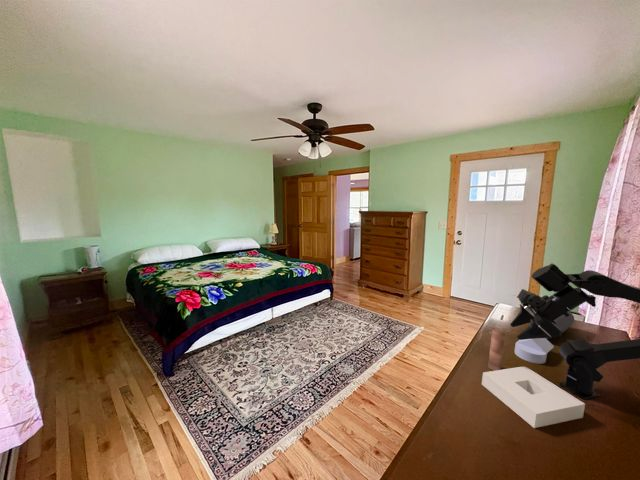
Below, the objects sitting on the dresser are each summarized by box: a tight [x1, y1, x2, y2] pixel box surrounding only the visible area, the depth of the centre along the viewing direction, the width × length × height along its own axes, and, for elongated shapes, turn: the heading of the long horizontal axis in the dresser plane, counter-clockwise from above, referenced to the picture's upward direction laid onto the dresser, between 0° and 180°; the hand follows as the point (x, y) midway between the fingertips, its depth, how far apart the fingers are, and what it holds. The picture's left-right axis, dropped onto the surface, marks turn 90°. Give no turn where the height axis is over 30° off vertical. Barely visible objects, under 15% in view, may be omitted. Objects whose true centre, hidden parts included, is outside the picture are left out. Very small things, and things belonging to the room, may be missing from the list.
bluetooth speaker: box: [528, 310, 575, 340], centre depth 111 cm, size 23×9×10 cm, turn 120°
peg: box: [487, 329, 506, 371], centre depth 87 cm, size 4×4×13 cm
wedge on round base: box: [514, 338, 555, 365], centre depth 96 cm, size 9×7×13 cm
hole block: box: [481, 365, 586, 429], centre depth 73 cm, size 16×16×4 cm
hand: (514, 331), depth 83 cm, fingers open, 9 cm apart
